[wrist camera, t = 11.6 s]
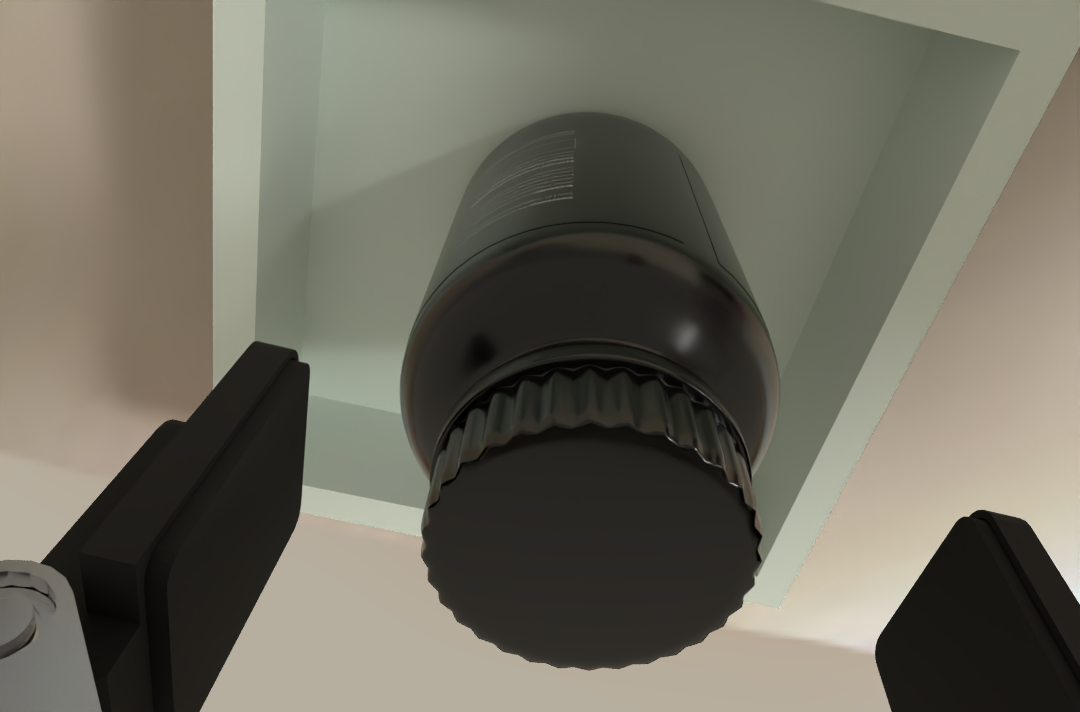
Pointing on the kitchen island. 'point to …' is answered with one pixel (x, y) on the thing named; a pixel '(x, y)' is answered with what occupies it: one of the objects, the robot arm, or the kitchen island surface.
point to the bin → (665, 106)
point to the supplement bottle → (589, 401)
